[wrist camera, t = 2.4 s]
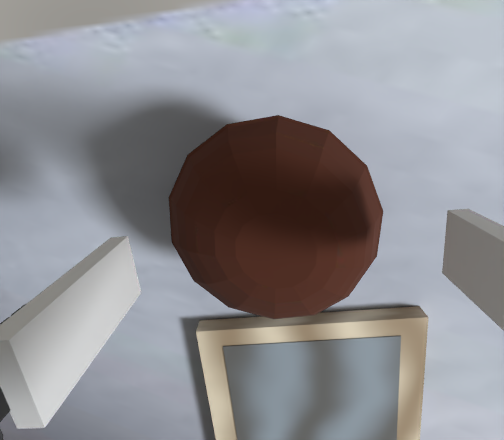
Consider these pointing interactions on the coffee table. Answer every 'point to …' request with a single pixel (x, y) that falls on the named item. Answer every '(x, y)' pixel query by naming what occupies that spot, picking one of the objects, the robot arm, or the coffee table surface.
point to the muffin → (275, 217)
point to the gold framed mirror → (316, 375)
